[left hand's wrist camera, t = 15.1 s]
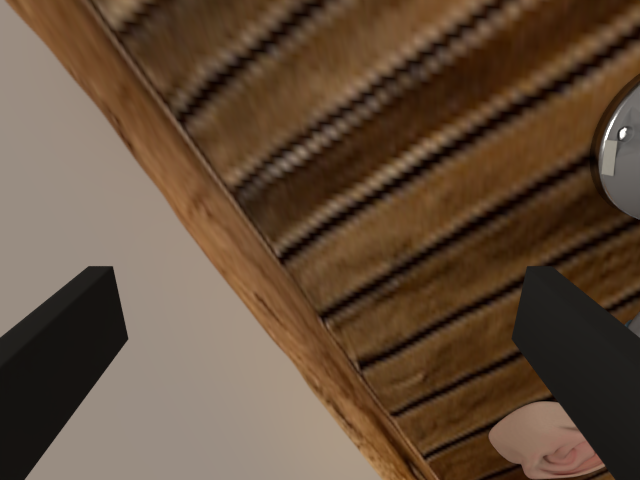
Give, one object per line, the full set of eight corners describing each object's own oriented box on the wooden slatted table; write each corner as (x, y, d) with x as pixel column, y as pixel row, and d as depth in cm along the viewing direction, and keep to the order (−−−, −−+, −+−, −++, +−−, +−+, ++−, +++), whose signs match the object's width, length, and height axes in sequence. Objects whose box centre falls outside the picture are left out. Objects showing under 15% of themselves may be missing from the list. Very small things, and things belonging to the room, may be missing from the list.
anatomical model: (486, 475, 49) (545, 409, 45) (475, 447, 53) (528, 384, 49) (573, 506, 51) (636, 447, 47) (556, 477, 55) (613, 420, 51)
